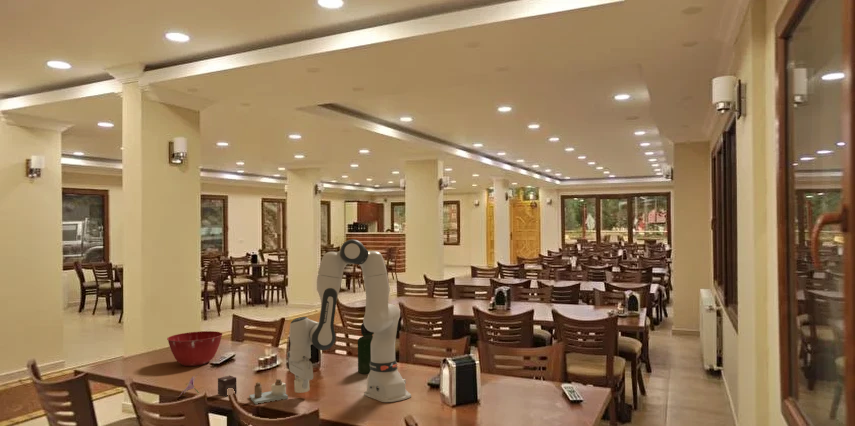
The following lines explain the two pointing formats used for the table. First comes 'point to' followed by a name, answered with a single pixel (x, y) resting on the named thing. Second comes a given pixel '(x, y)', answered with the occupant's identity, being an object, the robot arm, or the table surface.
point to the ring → (300, 386)
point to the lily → (190, 385)
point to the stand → (269, 393)
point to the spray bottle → (364, 350)
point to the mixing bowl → (195, 347)
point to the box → (226, 384)
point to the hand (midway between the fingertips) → (301, 386)
